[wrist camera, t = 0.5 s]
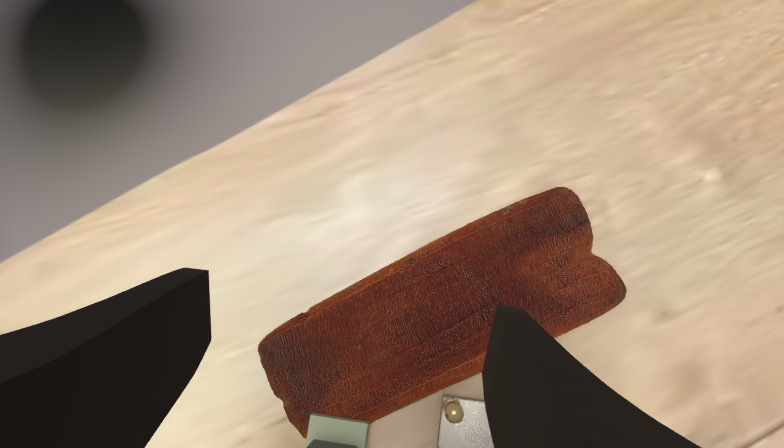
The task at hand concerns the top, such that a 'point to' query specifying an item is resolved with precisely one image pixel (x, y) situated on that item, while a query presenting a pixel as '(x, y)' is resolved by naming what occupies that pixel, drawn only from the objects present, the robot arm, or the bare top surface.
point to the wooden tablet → (439, 311)
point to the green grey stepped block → (336, 432)
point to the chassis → (463, 424)
